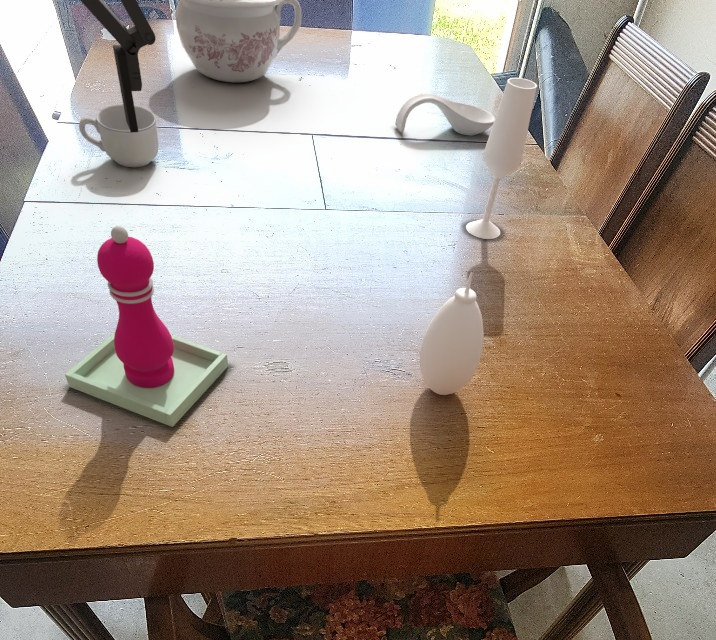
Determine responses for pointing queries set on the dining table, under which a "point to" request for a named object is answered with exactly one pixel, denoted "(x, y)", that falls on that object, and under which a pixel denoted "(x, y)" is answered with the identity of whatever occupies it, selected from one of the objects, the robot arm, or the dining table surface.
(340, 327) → the dining table surface
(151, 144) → the teacup
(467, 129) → the spoon rest
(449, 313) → the sauce bottle
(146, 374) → the pepper mill
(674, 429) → the dining table surface
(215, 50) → the chamber pot
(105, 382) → the tray
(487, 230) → the champagne flute
